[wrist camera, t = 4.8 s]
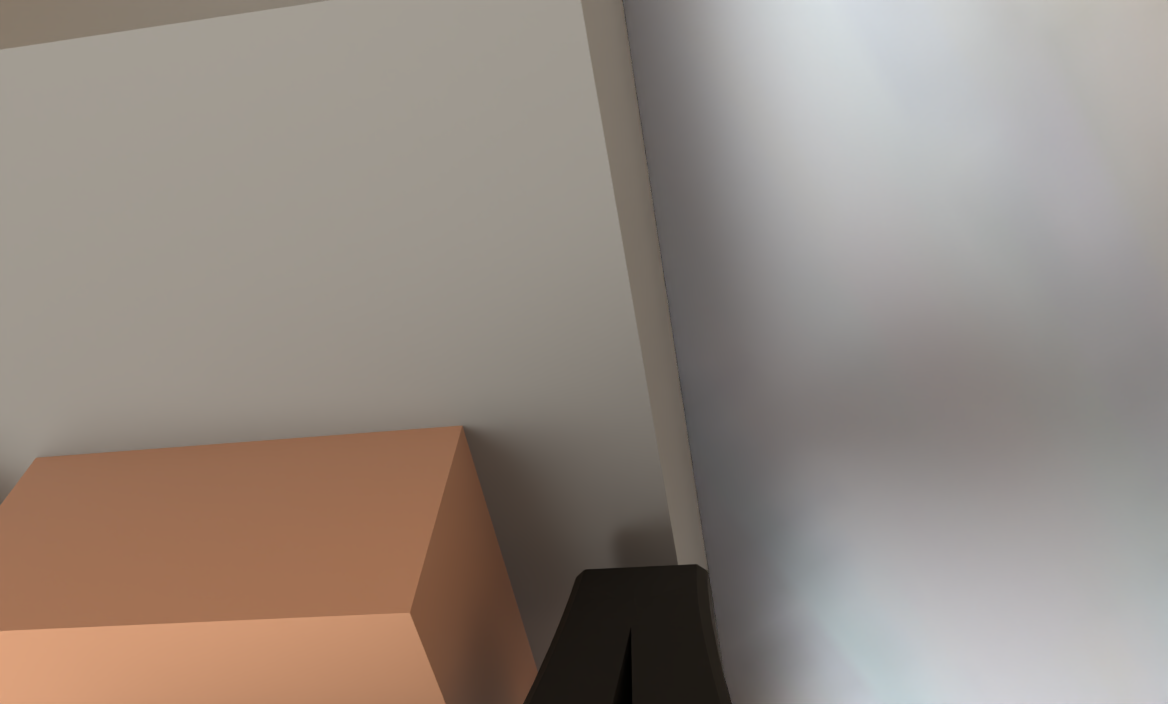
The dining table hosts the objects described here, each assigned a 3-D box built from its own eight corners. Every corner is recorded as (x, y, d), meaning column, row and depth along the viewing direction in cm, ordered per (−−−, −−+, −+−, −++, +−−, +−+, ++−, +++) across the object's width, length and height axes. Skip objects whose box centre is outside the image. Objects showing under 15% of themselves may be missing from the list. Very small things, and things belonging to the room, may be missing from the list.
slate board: (603, -126, 11) (574, -38, 8) (730, 721, 19) (735, 892, 16) (-522, 58, 13) (-798, 169, 11) (16, 739, 21) (-72, 890, 19)
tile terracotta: (462, 425, 11) (409, 612, 9) (551, 716, 14) (526, 907, 12) (34, 457, 12) (-96, 634, 10) (201, 725, 15) (123, 906, 13)
